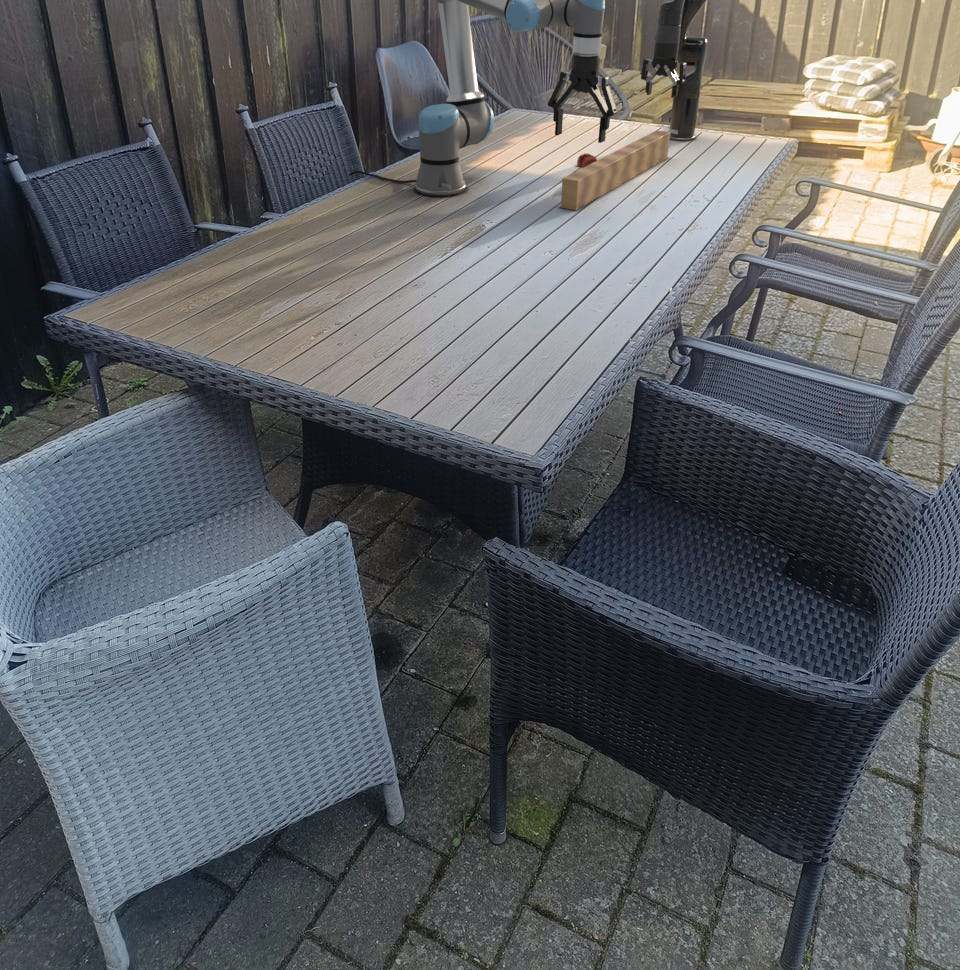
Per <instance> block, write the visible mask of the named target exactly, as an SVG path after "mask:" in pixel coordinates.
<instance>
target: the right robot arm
mask: <svg viewBox="0 0 960 970" xmlns="http://www.w3.org/2000/svg"><path fill="white" fill-rule="evenodd" d="M707 1H708V0H668V1H664V2H662V3H660V5H659V8H658V9H659V10H658V17H657V18H658V19H657V27H656V30H655V35H654V48H653V57H652V59H650V58H649V57H648V58H644V59H643V61H642V67H641V73H640V79H641V80H643V81H645V90H644V92H645V93H646V96H650V95H652V90H653V80H654V79H655V77H656V76H659V77H660V76H662V77H668V78H669V80H670V81H671V83H672V86H671V95H670V98H671V99H672V106H671V114H670V117H669V119H668V121H669V122H668V123H669V127H668V132H671V133H670V139H671V140H673V141H674V140H675V141H691V140H694V139H695V134H696V133H695V132H696V126H697V118H698V111H699V106H700V105H699V104H700V97H701V91H702V82H703V75H704V74H703V73H704V68H705V62H706V58H707V51H708V39H707V38H706V37H705V36H688V35H687V34H688V33H687V32H688V31H689V28H690V26H691V24H692V23H693V21H694V19H695V18H696V16H697V15H698V13H699V12H700V11H701V10H702V8H703V7H704V6H705V4H706V2H707ZM651 66H652V71H650V73H649V68H650V67H651ZM687 67H694V69H693V70H692V71H689V72H688V73H687ZM676 69H677V70H678V71H679V73H678V74H677V72H676Z"/></svg>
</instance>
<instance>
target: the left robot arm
mask: <svg viewBox="0 0 960 970" xmlns="http://www.w3.org/2000/svg"><path fill="white" fill-rule="evenodd" d="M434 1H435V2H436V3H437V5H438V15H439V22H440V30H441V36H442V44H443V51H444V58H445V59H444V60H445V67H446V74H447V81H448V89H449V95H448V96H447V98H446V100H445V103H438V104H431V105H428V106H426V107H424V108H423V109H422V110H421V111H420V112H419V114H418V115H419V116H418V126H417V127H418V137H419V138H418V139H419V157H420V158H419V159H420V161H419V162H420V164H419V168H418V172H417V176H416V179H408V180H401V179H394V178H388V177H385V176H381V175H378V174H375V173H369V172H365V171H362V170H353V171H351V172H349V174H348V176H349V177H351V176H353V175H355V174H360V175H365V176H368V177H372V178H376V179H380V180H383V181H387V182H393V183H398V184H412V183H415V185H414V186H415V192H417V193H418V194H420V195H424V196H430V197H450V196H455V195H459V194H461V193H463V192H464V191H466V181H465V179H464V176H463V172H462V169H461V165H460V149H463V148H466V147H470V146H473V145H478V144H480V143H482V142H484V141H485V140H487V139H488V138H489V137H490V135H491V134H492V133H493V130H494V127H495V114H494V111H493V109H492V107H490V104H489V103H488V102H486V101H485V94H484V93H483V92H481V91H480V90H479V85H478V77H477V68H476V60H475V52H474V51H475V50H474V44H473V42H474V41H473V35H472V26H471V17H470V11H469V7H471V8H474V9H475V10H478V11H481V12H483V13H485V14H488V15H489V16H492V17H495V18H497V19H500V20H502V21H503V22H506V23H507V25H508V26H509V27H510V29H511V30H512V31H514V32H516V33H517V32H518V33H521V32H522V33H528V32H531V31H535V30H539V29H545V28H550V27H556V26H558V27H559V26H561V27H569V28H573V36H572V47H571V51H572V53H573V54H572V55H571V62H570V69H571V71H570V72H569V71H568V70H563V71H560V74H559V78H558V82H557V83H556V85H555V88H554V90H553V92H552V94H551V96H550V98H549V100H548V102H547V107H550V108H552V109H553V117H552V121H553V122H554V123H555V126H554V136H559V135H562V134H563V119H564V108H562V107H563V106H564V105H565V103H566V102H567V101H568V100H569V98H570V97H571V96H572V95H573V94H574V93H575V92H576V93H583V94H589V95H590V96H591V97H592V99H593V101H594V102H595V104H596V106H597V108H598V109H599V111H600V114H601V115H602V116H601V117H600V118H599V130H598V140H597V143H598V144H602V143H603V142H606V133H607V130H609V129H610V121H611V117H613V116H615V115H617V114H618V109H617V105H616V102H615V99H614V95H613V93H612V89H611V86H610V76H609V75H605V76H600V75H599V72H600V63H601V55H600V53H601V52H602V40H603V39H602V38H603V28H604V27H603V26H604V17H605V16H604V15H605V9H606V0H434ZM568 80H570V83H571V84H570V85H569V86H568V88H567V90H565V92H564V93H563V94H562V95H561V93H562V91H563V90H564V87H566V86H565V85H566V84H567V81H568ZM598 83H599V85H600V87H601V92H602V94H603V95H602V94H601V92H600V88H599V87H598ZM560 96H561V97H560Z"/></svg>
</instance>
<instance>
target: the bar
mask: <svg viewBox="0 0 960 970" xmlns="http://www.w3.org/2000/svg"><path fill="white" fill-rule="evenodd" d="M670 133H671V132H669V131H665V130H657V129H656V130H655V131H652V132H651V133H649V134H647V135H644V136H643V137H641V138H638V139H637V140H635V141H633V142H631V143H629V144H627V145H625V146H623V147H621V148H619V149H617V150H615V151H613V152H611V153H610V154H607V155H605V156H603V157H601V158H599V159H597V161H596V162H594V163H592V164H590V165H588V166H586V167H584V168H582V167H581V168H580V169H578V170H576V171H574V172H572V173H570V174H568V175H566V176H564V177H562V179H561V197H560V198H561V199H560V208H562V209H567V210H573V211H577V210H579V209H581V208H582V207H584V206H586V205H588V204H590V203H591V202H593V201H595V200H597V199H598V198H600V197H602V196H603V195H605V194H607V193H609V192H610V191H612V190H614V189H616V188H617V187H620V186H621V185H622V184H624V183H626V182H628V181H629V180H631V179H633V178H634V177H636V176H638V175H640V174H641V173H643V172H645V171H647V170H649V169H650V168H652V167H654V166H656V165H657V164H659V163H661V162H662V161H664V160H666V159H667V158H668V156H669V147H670Z"/></svg>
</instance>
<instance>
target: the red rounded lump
mask: <svg viewBox="0 0 960 970" xmlns="http://www.w3.org/2000/svg"><path fill="white" fill-rule="evenodd" d="M597 160H598V159H597V156H594V155H592V154H590V153H587V152H586V153H582V154H580V155H579V156H578V158H577V160H576V161H577V162H576V165H577V166H581V169H582V168H584V167H586V166H588V165H590V164H592V163H594V162H596V161H597Z"/></svg>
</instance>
